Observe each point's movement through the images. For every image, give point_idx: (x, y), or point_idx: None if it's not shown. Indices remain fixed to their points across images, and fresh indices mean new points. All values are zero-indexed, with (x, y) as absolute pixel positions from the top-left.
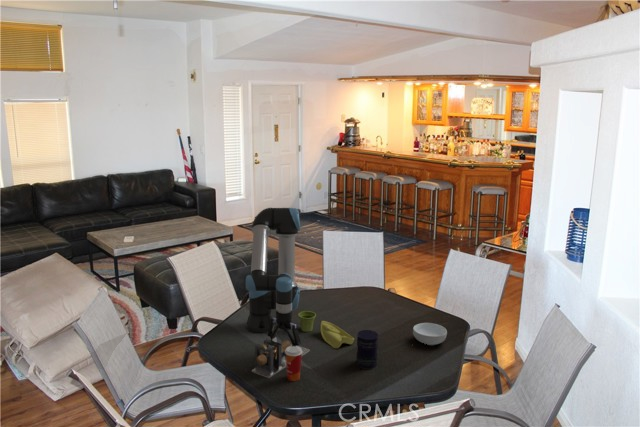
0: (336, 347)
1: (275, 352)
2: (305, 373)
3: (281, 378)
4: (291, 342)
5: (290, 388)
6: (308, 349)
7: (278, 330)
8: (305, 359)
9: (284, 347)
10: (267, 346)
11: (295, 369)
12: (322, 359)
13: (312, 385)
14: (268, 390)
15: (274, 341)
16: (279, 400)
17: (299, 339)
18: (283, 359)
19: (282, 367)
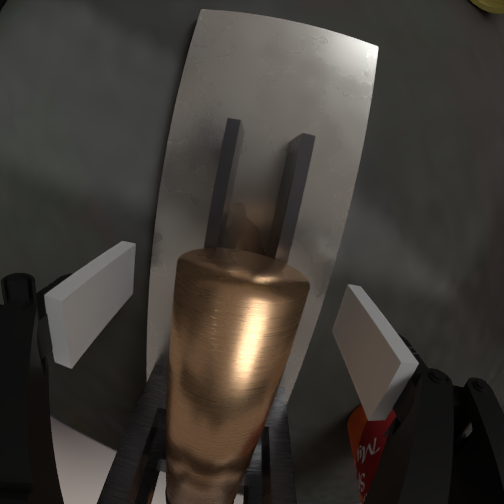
0: (490, 10)
1: (240, 481)
2: (430, 356)
3: (320, 439)
4: (384, 448)
5: None
6: (369, 49)
7: (39, 453)
8: (398, 195)
9: (272, 399)
10: (137, 475)
11: None
12: (485, 156)
13: None
14: (298, 492)
15: (85, 327)
16: (353, 499)
17: (499, 426)
18: None
19: (291, 387)
